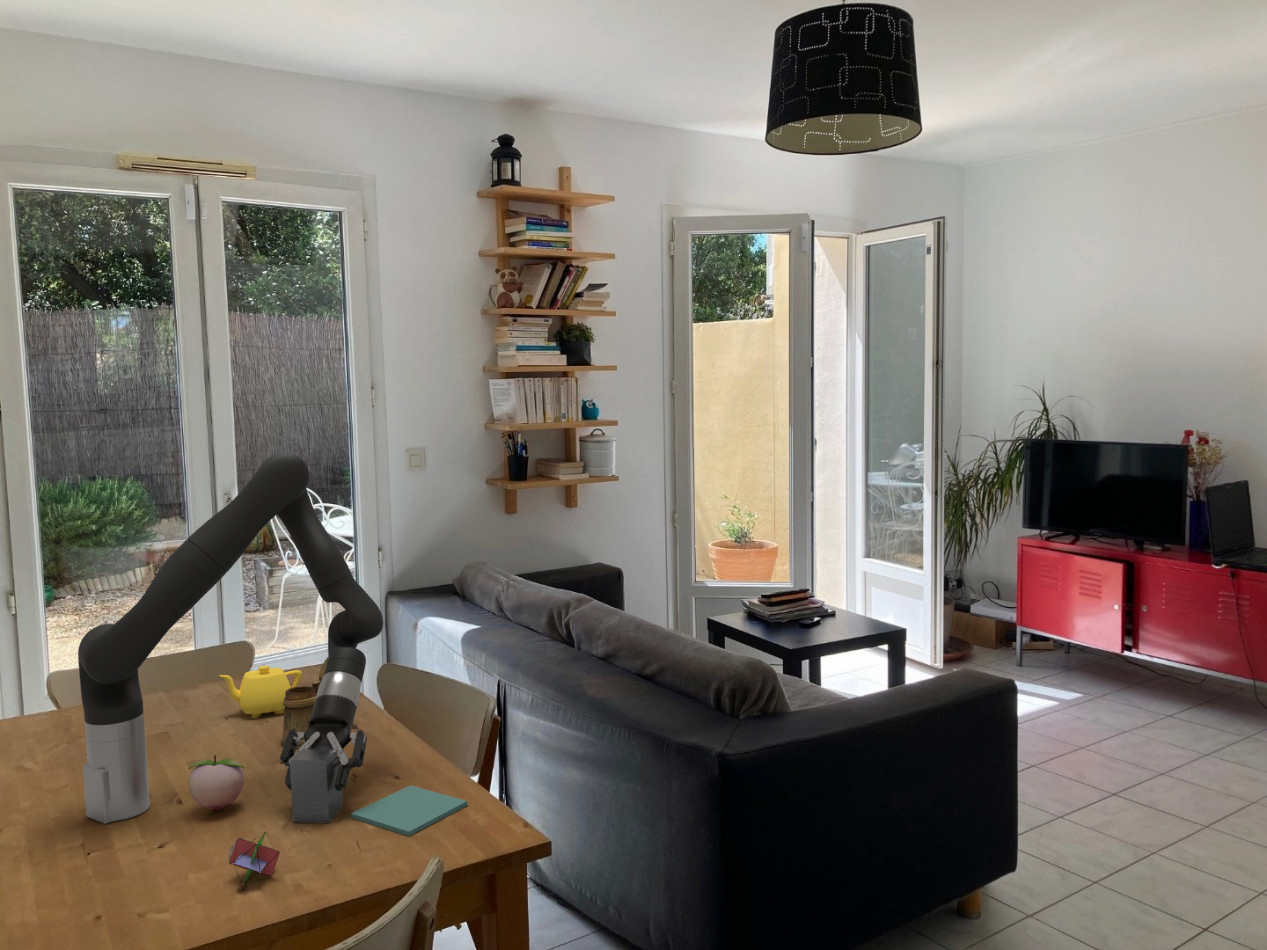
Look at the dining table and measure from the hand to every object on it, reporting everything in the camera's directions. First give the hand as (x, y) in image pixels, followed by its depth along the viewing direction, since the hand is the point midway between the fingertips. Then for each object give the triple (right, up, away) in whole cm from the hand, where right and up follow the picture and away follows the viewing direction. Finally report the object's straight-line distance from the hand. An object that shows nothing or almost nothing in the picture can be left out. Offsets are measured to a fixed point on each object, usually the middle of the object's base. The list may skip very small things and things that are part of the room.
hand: (314, 788), depth 172 cm
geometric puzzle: (-2, -7, -20) cm, 22 cm away
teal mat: (+16, -5, +2) cm, 17 cm away
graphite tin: (0, -5, +2) cm, 5 cm away
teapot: (-31, -1, +59) cm, 66 cm away
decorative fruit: (-18, -6, +4) cm, 20 cm away
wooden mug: (-13, -2, +40) cm, 42 cm away
